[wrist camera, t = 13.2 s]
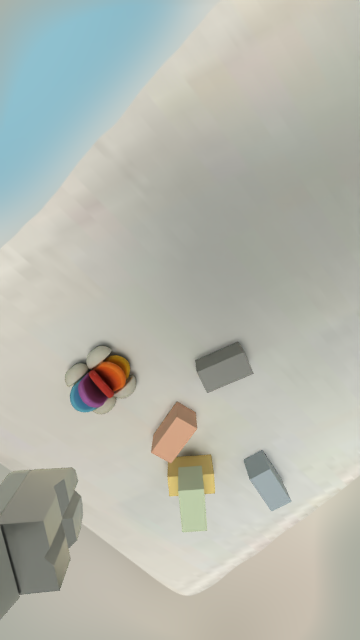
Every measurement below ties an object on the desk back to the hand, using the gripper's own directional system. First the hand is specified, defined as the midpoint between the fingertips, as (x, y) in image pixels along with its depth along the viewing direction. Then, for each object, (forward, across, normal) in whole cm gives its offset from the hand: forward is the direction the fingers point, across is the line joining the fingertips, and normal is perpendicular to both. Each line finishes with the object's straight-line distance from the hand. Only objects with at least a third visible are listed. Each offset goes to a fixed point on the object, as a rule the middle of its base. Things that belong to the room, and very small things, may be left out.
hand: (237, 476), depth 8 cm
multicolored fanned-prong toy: (+38, +14, +13) cm, 42 cm away
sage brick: (+33, +2, +30) cm, 44 cm away
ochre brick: (+37, +2, +30) cm, 48 cm away
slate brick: (+37, -10, +32) cm, 50 cm away
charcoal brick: (+37, -4, +12) cm, 39 cm away
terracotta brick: (+37, +4, +22) cm, 43 cm away
